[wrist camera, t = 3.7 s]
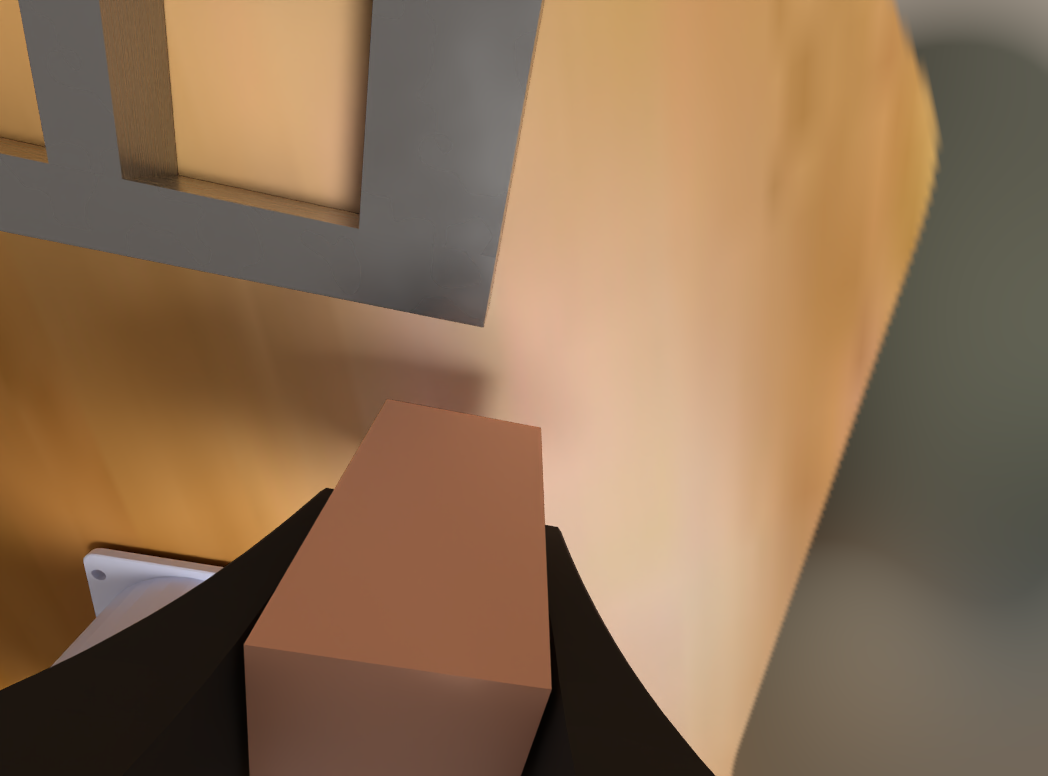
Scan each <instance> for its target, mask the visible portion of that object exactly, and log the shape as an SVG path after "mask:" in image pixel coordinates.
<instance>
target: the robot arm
mask: <svg viewBox="0 0 1048 776" xmlns="http://www.w3.org/2000/svg"><path fill="white" fill-rule="evenodd" d="M333 491H334V489H330V488H325V489H324V490H322V491H320V492H319V493H318V494H317V495H316V496H315V497H313V498H312V499H311V500H310V501H309V502H308V503H306V504H305V505H304V506H303V507H302V508H300V509H299V510H298V511H297V512H296V513H295V514H293V515H292V516H291V517H290V518H288V519H287V520H286V521H285V522H284V523H282V524H281V525H280V526H279V527H277V528H276V529H275V530H273V531H272V532H271V533H270V534H268V535H267V536H266V537H264V538H263V539H262V540H261V541H259V542H258V543H257V544H255V545H254V546H253V547H252V548H250V549H249V550H248V551H246V552H245V553H244V554H242V555H241V556H239V557H238V558H236V559H235V560H234V561H232V562H231V563H229V564H228V565H227V566H225V567H219V566H213V565H207V564H200V563H194V562H188V561H181V560H175V559H168V558H162V557H156V556H149V555H143V554H137V553H130V552H124V551H118V550H111V549H105V548H95V549H93V550H91V551H90V552H89V553H88V554H87V555H86V556H85V557H84V560H83V562H84V567H85V571H86V575H87V580H88V584H89V588H90V593H91V597H92V601H93V606H94V610H95V614H96V619H95V620H94V621H93V622H92V623H91V624H90V625H89V626H88V627H87V628H86V629H85V630H84V631H83V632H82V634H81V635H80V636H79V637H78V638H77V639H76V640H75V641H74V642H73V643H72V644H71V645H70V646H69V647H68V649H67V650H66V651H65V652H64V653H63V654H62V655H61V656H60V657H59V658H58V659H57V660H56V661H55V662H54V664H53V665H52V666H51V667H50V668H48V669H46V670H44V671H42V672H39V673H37V674H35V675H33V676H31V677H29V678H26V679H24V680H22V681H20V682H18V683H15V684H13V685H11V686H9V687H7V688H5V689H2V690H0V776H250V772H249V750H248V728H247V706H246V685H245V663H244V643H245V641H246V640H247V638H248V636H249V635H250V633H251V631H252V629H253V628H254V626H255V624H256V623H257V621H258V619H259V617H260V616H261V614H262V612H263V611H264V609H265V607H266V605H267V604H268V602H269V600H270V599H271V597H272V595H273V593H274V592H275V590H276V588H277V587H278V585H279V583H280V581H281V580H282V578H283V576H284V575H285V573H286V571H287V569H288V568H289V566H290V564H291V563H292V561H293V559H294V557H295V556H296V554H297V552H298V551H299V549H300V547H301V545H302V544H303V542H304V540H305V539H306V537H307V535H308V533H309V532H310V530H311V528H312V527H313V525H314V523H315V521H316V520H317V518H318V516H319V515H320V513H321V511H322V509H323V508H324V506H325V504H326V503H327V501H328V499H329V497H330V496H331V494H332V492H333ZM545 539H546V563H547V588H548V612H549V637H550V661H551V686H552V690H551V693H550V696H549V698H548V701H547V704H546V707H545V710H544V712H543V715H542V718H541V721H540V723H539V726H538V729H537V732H536V735H535V737H534V740H533V743H532V746H531V749H530V751H529V754H528V757H527V760H526V763H525V765H524V768H523V771H522V774H521V776H715V775H714V774H713V773H712V771H711V770H710V769H709V768H708V767H707V766H706V765H705V764H704V762H703V761H702V760H701V759H700V758H699V757H698V756H697V754H696V753H695V752H694V751H693V749H692V748H691V747H690V746H689V744H688V743H687V742H686V741H685V739H684V738H683V737H682V736H681V735H680V733H679V732H678V731H677V730H676V728H675V727H674V726H673V725H672V723H671V722H670V721H669V720H668V718H667V717H666V716H665V715H664V713H663V712H662V711H661V709H660V708H659V707H658V705H657V704H656V703H655V701H654V700H653V698H652V697H651V696H650V694H649V693H648V692H647V690H646V689H645V687H644V686H643V684H642V683H641V682H640V680H639V679H638V677H637V676H636V674H635V673H634V671H633V670H632V668H631V667H630V665H629V664H628V662H627V661H626V659H625V657H624V656H623V654H622V653H621V651H620V649H619V648H618V646H617V645H616V643H615V641H614V639H613V638H612V636H611V634H610V633H609V631H608V629H607V627H606V626H605V624H604V622H603V620H602V618H601V617H600V615H599V613H598V611H597V609H596V607H595V605H594V603H593V601H592V599H591V598H590V596H589V594H588V592H587V590H586V588H585V586H584V584H583V582H582V580H581V577H580V575H579V573H578V571H577V569H576V567H575V564H574V562H573V560H572V558H571V555H570V553H569V550H568V548H567V546H566V543H565V541H564V538H563V536H562V533H561V531H560V530H559V528H558V527H554V526H548V525H545Z"/></svg>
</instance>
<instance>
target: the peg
mask: <svg viewBox="0 0 1048 776" xmlns="http://www.w3.org/2000/svg"><path fill="white" fill-rule="evenodd" d="M244 663H245V685H246V706H247V728H248V750H249V772H250V776H521V774H522V771H523V768H524V765H525V763H526V760H527V757H528V754H529V751H530V749H531V746H532V743H533V740H534V737H535V735H536V732H537V729H538V726H539V723H540V721H541V718H542V715H543V712H544V710H545V707H546V704H547V701H548V698H549V696H550V693H551V690H552V686H551V661H550V637H549V612H548V588H547V563H546V539H545V514H544V490H543V465H542V441H541V428H540V427H534V426H529V425H524V424H518V423H513V422H508V421H502V420H497V419H492V418H486V417H481V416H476V415H470V414H465V413H460V412H454V411H449V410H444V409H438V408H433V407H428V406H422V405H417V404H411V403H406V402H401V401H395V400H390V399H387V400H386V401H385V403H384V405H383V407H382V408H381V410H380V412H379V413H378V415H377V417H376V419H375V420H374V422H373V424H372V425H371V427H370V429H369V431H368V432H367V434H366V436H365V437H364V439H363V441H362V443H361V444H360V446H359V448H358V449H357V451H356V453H355V455H354V456H353V458H352V460H351V461H350V463H349V465H348V467H347V468H346V470H345V472H344V473H343V475H342V477H341V479H340V480H339V482H338V484H337V485H336V487H335V489H334V491H333V492H332V494H331V496H330V497H329V499H328V501H327V503H326V504H325V506H324V508H323V509H322V511H321V513H320V515H319V516H318V518H317V520H316V521H315V523H314V525H313V527H312V528H311V530H310V532H309V533H308V535H307V537H306V539H305V540H304V542H303V544H302V545H301V547H300V549H299V551H298V552H297V554H296V556H295V557H294V559H293V561H292V563H291V564H290V566H289V568H288V569H287V571H286V573H285V575H284V576H283V578H282V580H281V581H280V583H279V585H278V587H277V588H276V590H275V592H274V593H273V595H272V597H271V599H270V600H269V602H268V604H267V605H266V607H265V609H264V611H263V612H262V614H261V616H260V617H259V619H258V621H257V623H256V624H255V626H254V628H253V629H252V631H251V633H250V635H249V636H248V638H247V640H246V641H245V643H244Z"/></svg>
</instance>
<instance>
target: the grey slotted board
mask: <svg viewBox="0 0 1048 776" xmlns="http://www.w3.org/2000/svg"><path fill="white" fill-rule="evenodd" d="M18 1H19V7H20V12H21V17H22V23H23V28H24V33H25V39H26V44H27V50H28V55H29V60H30V66H31V71H32V77H33V82H34V87H35V93H36V98H37V103H38V109H39V114H40V120H41V125H42V130H43V136H44V141H45V146H46V147H43V146H38V145H34V144H29V143H24V142H20V141H15V140H10V139H6V138H1V137H0V231H4V232H9V233H14V234H19V235H24V236H29V237H34V238H39V239H44V240H49V241H54V242H59V243H64V244H69V245H74V246H79V247H84V248H89V249H94V250H99V251H104V252H109V253H114V254H119V255H124V256H129V257H134V258H139V259H144V260H149V261H154V262H159V263H164V264H169V265H174V266H179V267H184V268H189V269H194V270H199V271H204V272H209V273H214V274H219V275H224V276H229V277H234V278H239V279H244V280H249V281H254V282H259V283H264V284H269V285H274V286H279V287H284V288H289V289H294V290H299V291H304V292H309V293H314V294H319V295H324V296H329V297H334V298H339V299H344V300H349V301H354V302H359V303H364V304H369V305H374V306H379V307H384V308H389V309H394V310H399V311H404V312H409V313H414V314H419V315H424V316H429V317H434V318H439V319H444V320H449V321H454V322H459V323H464V324H469V325H474V326H479V327H484V323H485V320H486V316H487V312H488V309H489V304H490V299H491V293H492V288H493V282H494V277H495V271H496V266H497V260H498V255H499V249H500V244H501V238H502V233H503V227H504V222H505V216H506V210H507V205H508V199H509V194H510V188H511V183H512V177H513V172H514V166H515V161H516V155H517V150H518V144H519V139H520V133H521V128H522V122H523V117H524V111H525V106H526V100H527V95H528V89H529V83H530V78H531V72H532V67H533V61H534V56H535V50H536V45H537V39H538V34H539V28H540V23H541V17H542V12H543V6H544V1H545V0H373V8H372V24H371V41H370V57H369V73H368V89H367V106H366V122H365V138H364V155H363V171H362V187H361V203H360V214H357V213H352V212H348V211H343V210H338V209H334V208H329V207H324V206H320V205H315V204H310V203H306V202H301V201H296V200H292V199H287V198H282V197H277V196H273V195H268V194H263V193H259V192H254V191H249V190H245V189H240V188H235V187H231V186H226V185H221V184H216V183H212V182H207V181H202V180H198V179H193V178H188V177H184V176H179V175H178V170H177V158H176V146H175V135H174V123H173V111H172V99H171V87H170V76H169V64H168V52H167V40H166V29H165V17H164V5H163V0H18Z"/></svg>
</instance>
